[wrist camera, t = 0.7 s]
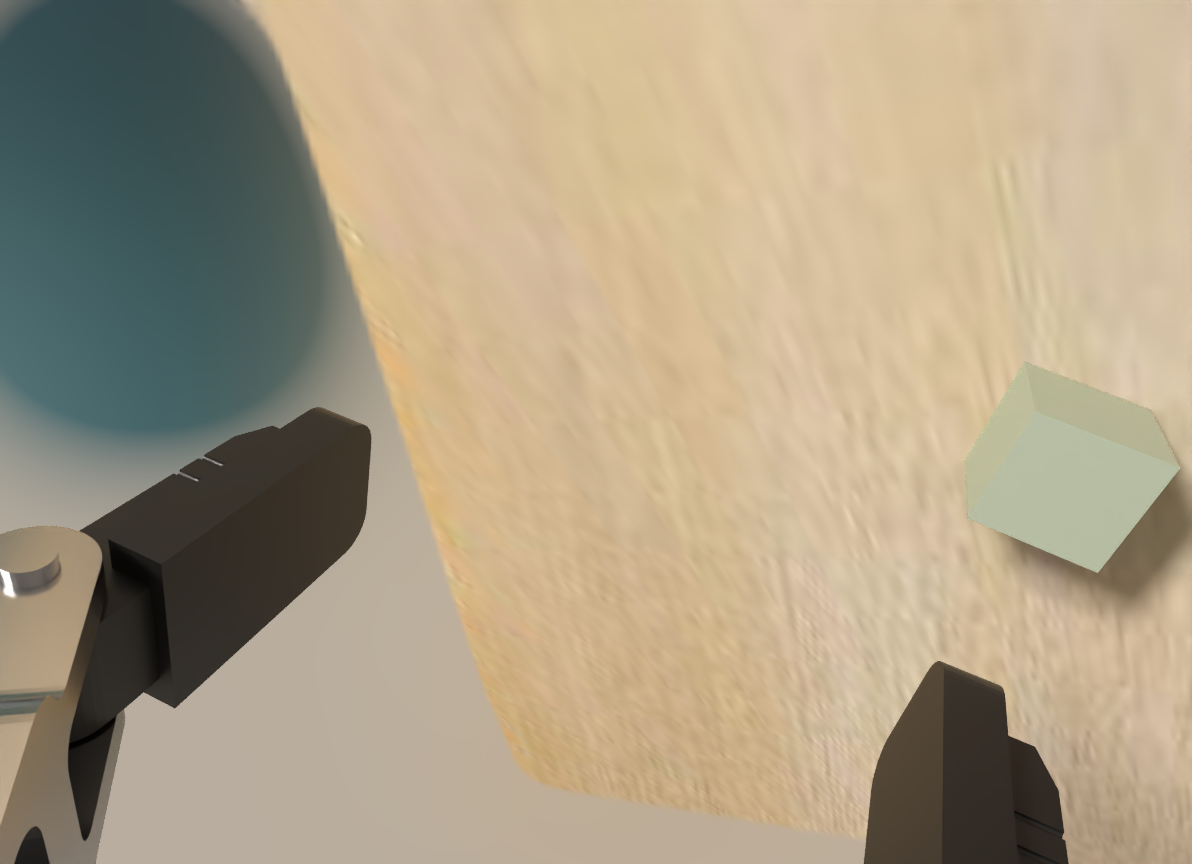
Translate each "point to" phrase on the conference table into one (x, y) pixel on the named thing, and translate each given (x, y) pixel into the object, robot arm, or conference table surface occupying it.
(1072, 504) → the block sage
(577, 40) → the conference table surface
